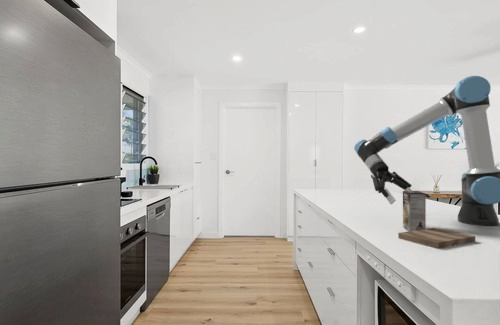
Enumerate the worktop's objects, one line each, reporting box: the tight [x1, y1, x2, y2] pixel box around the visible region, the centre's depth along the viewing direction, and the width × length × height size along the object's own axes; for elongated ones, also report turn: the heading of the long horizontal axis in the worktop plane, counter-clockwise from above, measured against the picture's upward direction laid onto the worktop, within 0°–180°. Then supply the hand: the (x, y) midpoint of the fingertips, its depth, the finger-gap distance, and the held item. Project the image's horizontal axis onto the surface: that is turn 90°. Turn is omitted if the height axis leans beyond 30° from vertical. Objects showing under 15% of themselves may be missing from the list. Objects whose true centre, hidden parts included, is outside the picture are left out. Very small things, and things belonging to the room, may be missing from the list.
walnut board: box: [397, 227, 476, 250], centre depth 107 cm, size 20×15×2 cm
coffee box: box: [402, 190, 427, 232], centre depth 122 cm, size 9×6×16 cm
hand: (404, 201), depth 125 cm, fingers open, 13 cm apart
